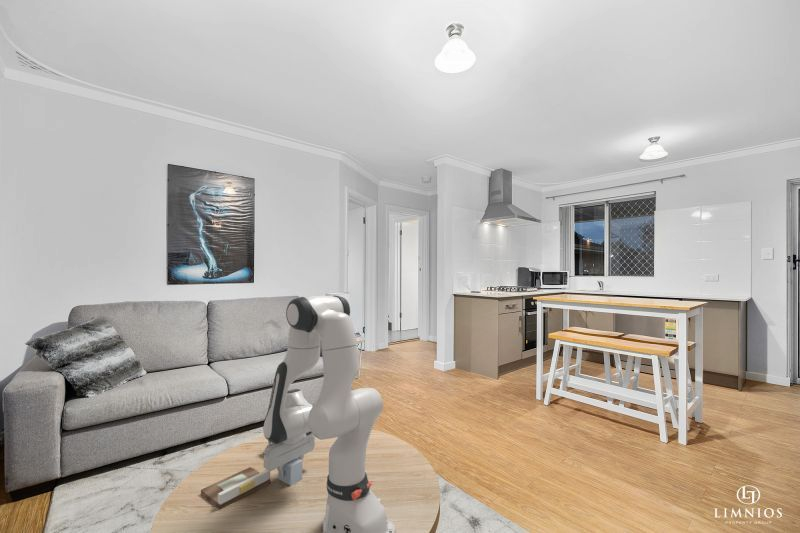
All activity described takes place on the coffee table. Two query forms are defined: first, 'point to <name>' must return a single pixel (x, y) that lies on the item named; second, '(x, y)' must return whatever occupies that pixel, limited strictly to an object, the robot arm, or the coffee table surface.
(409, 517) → the coffee table surface
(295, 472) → the product carton
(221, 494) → the price rail
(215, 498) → the shelf board
